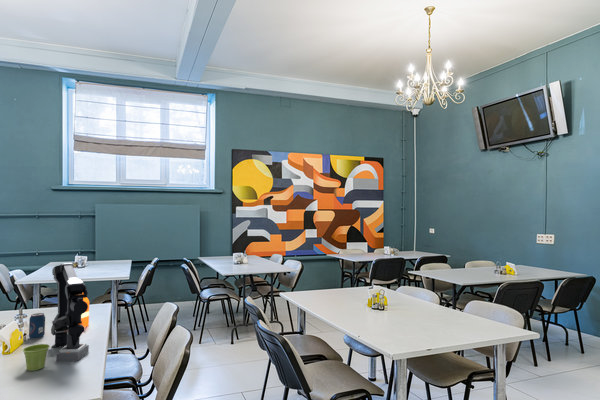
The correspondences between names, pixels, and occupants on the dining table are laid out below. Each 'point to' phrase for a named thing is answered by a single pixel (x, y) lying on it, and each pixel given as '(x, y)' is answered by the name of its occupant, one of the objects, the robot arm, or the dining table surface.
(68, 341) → the lens
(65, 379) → the dining table surface
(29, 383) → the dining table surface
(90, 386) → the dining table surface
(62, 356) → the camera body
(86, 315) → the orange juice
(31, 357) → the plant pot
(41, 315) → the soda can
